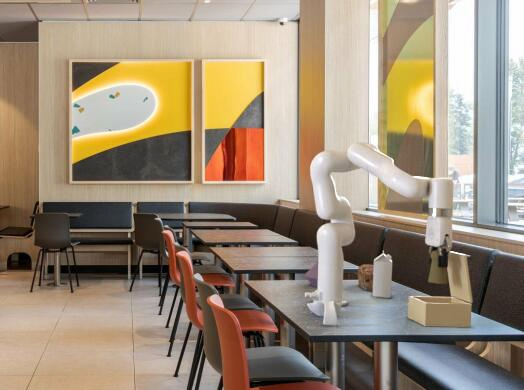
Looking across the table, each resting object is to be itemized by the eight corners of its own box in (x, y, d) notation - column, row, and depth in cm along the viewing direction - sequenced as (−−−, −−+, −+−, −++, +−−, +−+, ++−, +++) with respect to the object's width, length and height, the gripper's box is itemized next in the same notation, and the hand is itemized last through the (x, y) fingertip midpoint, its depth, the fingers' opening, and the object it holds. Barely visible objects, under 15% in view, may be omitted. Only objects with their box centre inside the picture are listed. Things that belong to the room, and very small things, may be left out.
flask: (308, 281, 298) (310, 239, 297) (344, 285, 290) (345, 242, 289) (298, 286, 284) (300, 242, 283) (336, 290, 275) (337, 245, 275)
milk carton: (372, 296, 262) (374, 251, 262) (372, 294, 269) (374, 250, 268) (390, 298, 260) (392, 252, 259) (390, 295, 266) (392, 251, 266)
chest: (425, 326, 211) (425, 303, 210) (407, 317, 223) (408, 296, 223) (470, 327, 211) (471, 304, 211) (451, 318, 224) (451, 296, 223)
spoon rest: (305, 310, 231) (305, 291, 231) (338, 312, 230) (338, 292, 229) (313, 325, 208) (313, 303, 208) (350, 327, 206) (350, 305, 206)
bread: (357, 284, 293) (357, 263, 293) (380, 285, 291) (381, 264, 291) (364, 291, 275) (365, 268, 275) (389, 292, 273) (390, 269, 273)
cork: (449, 284, 213) (450, 252, 212) (430, 283, 214) (431, 251, 214) (444, 281, 219) (445, 250, 218) (426, 280, 220) (427, 249, 220)
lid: (464, 255, 210) (477, 252, 210) (444, 250, 223) (457, 248, 223) (470, 302, 211) (484, 300, 211) (450, 295, 223) (463, 293, 224)
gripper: (417, 212, 224) (415, 262, 225) (442, 214, 207) (440, 269, 208) (438, 212, 224) (436, 262, 225) (464, 215, 207) (462, 270, 208)
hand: (438, 265), depth 216 cm, fingers closed on cork, 5 cm apart
